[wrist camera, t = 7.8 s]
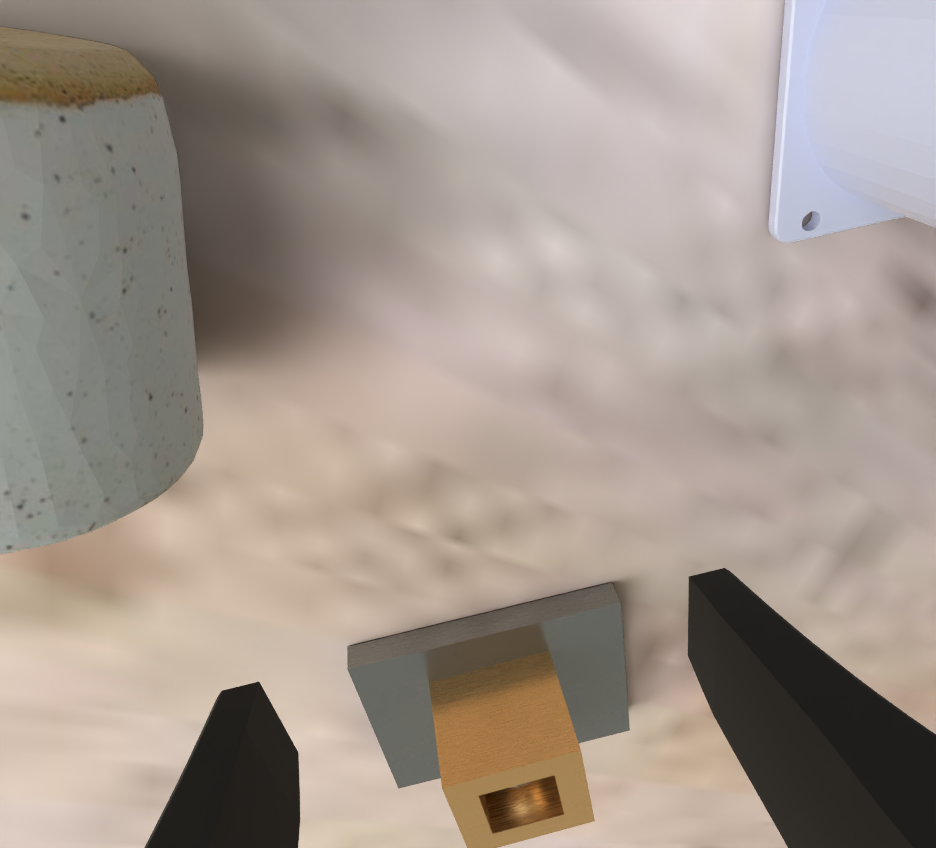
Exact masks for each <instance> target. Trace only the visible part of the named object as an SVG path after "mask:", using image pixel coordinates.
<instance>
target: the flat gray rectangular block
mask: <svg viewBox="0 0 936 848" xmlns="http://www.w3.org/2000/svg"><path fill="white" fill-rule="evenodd" d="M347 649H348V671H349V674H350V676H351V678H352V681H353V683H354V685H355V688H356V690H357V692H358V695H359V697H360V699H361V702H362V704H363V706H364V709H365V711H366V713H367V716H368V718H369V720H370V723H371V725H372V727H373V730H374V732H375V734H376V737H377V739H378V741H379V744H380V746H381V748H382V751H383V753H384V755H385V758H386V760H387V762H388V765H389V767H390V769H391V772H392V774H393V776H394V779H395V781H396V783H397V786H398V788H402V787H406V786H410V785H414V784H418V783H422V782H426V781H430V780H434V779H438V778H441V775H440V767H439V759H438V751H437V743H436V736H435V728H434V720H433V712H432V704H431V696H430V688H429V682H433V681H436V680H440V679H444V678H448V677H451V676H455V675H459V674H463V673H466V672H470V671H474V670H478V669H481V668H485V667H489V666H493V665H496V664H500V663H504V662H508V661H511V660H515V659H519V658H523V657H526V656H530V655H534V654H538V653H541V652H545V651H550V655H551V658H552V661H553V664H554V667H555V670H556V674H557V677H558V680H559V683H560V686H561V689H562V693H563V696H564V699H565V702H566V705H567V708H568V712H569V715H570V718H571V721H572V724H573V727H574V731H575V734H576V737H577V740H578V743H581V742H585V741H589V740H593V739H597V738H601V737H605V736H609V735H613V734H617V733H621V732H625V731H629V730H630V728H629V713H628V699H627V684H626V670H625V655H624V641H623V626H622V612H621V602H620V600H619V597H618V595H617V593H616V591H615V589H614V586H613V584H612V582H611V583H607V584H603V585H599V586H595V587H591V588H587V589H583V590H578V591H574V592H570V593H566V594H562V595H558V596H554V597H550V598H546V599H542V600H537V601H533V602H529V603H525V604H521V605H517V606H513V607H509V608H505V609H500V610H496V611H492V612H488V613H484V614H480V615H476V616H472V617H468V618H463V619H459V620H455V621H451V622H447V623H443V624H439V625H435V626H431V627H426V628H422V629H418V630H414V631H410V632H406V633H402V634H398V635H394V636H389V637H385V638H381V639H377V640H373V641H369V642H365V643H361V644H357V645H352V646H348V647H347ZM531 782H532V781H531ZM531 782H528V783H524V784H520V785H517V786H513V787H509V788H519V787H523V786H526V785H528V784H530V783H531Z"/></svg>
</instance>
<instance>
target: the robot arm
mask: <svg viewBox="0 0 936 848" xmlns="http://www.w3.org/2000/svg"><path fill="white" fill-rule="evenodd" d="M810 212H812V217H811V220H810V221H809V222H808V224H807V225H805V226H803V227H802V221H803V218H804V217H805V216H806V215H807V214H808V213H810ZM903 217H909V218H912V219H914V220H917V221H919V222H922V223H924V224H927V225H929V226H932V227H934V228H936V0H785V9H784V22H783V36H782V49H781V63H780V76H779V90H778V104H777V117H776V131H775V144H774V158H773V171H772V185H771V198H770V212H769V233H770V234H771V235H772V237H773V238H775V239H777V240H779V241H781V242H783V243H792V242H797V241H801V240H806V239H810V238H814V237H819V236H823V235H828V234H832V233H837V232H841V231H845V230H850V229H854V228H859V227H863V226H867V225H872V224H876V223H881V222H885V221H890V220H894V219H898V218H903ZM688 657H689V659H690V662H691V664H692V666H693V669H694V671H695V673H696V676H697V678H698V681H699V683H700V685H701V688H702V690H703V692H704V695H705V697H706V699H707V701H708V704H709V706H710V708H711V710H712V713H713V715H714V717H715V719H716V720H717V722H718V724H719V726H720V728H721V729H722V731H723V733H724V735H725V737H726V738H727V740H728V742H729V744H730V746H731V747H732V749H733V751H734V753H735V754H736V756H737V758H738V760H739V762H740V763H741V765H742V767H743V769H744V770H745V772H746V774H747V776H748V777H749V779H750V781H751V783H752V785H753V786H754V788H755V790H756V792H757V793H758V795H759V797H760V799H761V800H762V802H763V804H764V806H765V807H766V809H767V811H768V813H769V815H770V816H771V818H772V820H773V822H774V823H775V825H776V827H777V829H778V830H779V832H780V834H781V836H782V837H783V839H784V841H785V843H786V845H787V846H788V848H936V734H934V733H933V732H931V731H930V730H928V729H927V728H925V727H924V726H923V725H921V724H920V723H918V722H917V721H915V720H914V719H913V718H911V717H910V716H908V715H907V714H906V713H904V712H903V711H901V710H900V709H899V708H897V707H896V706H894V705H893V704H892V703H890V702H889V701H888V700H886V699H885V698H883V697H882V696H881V695H879V694H878V693H877V692H875V691H874V690H873V689H871V688H870V687H869V686H867V685H866V684H865V683H863V682H862V681H861V680H859V679H858V678H857V677H855V676H854V675H853V674H851V673H850V672H849V671H848V670H846V669H845V668H844V667H843V666H841V665H840V664H839V663H838V662H836V661H835V660H834V659H833V658H831V657H830V656H829V655H827V654H826V653H825V652H824V651H822V650H821V649H820V648H819V647H817V646H816V645H815V644H814V643H812V642H811V641H810V640H809V639H808V638H806V637H805V636H804V635H803V634H801V633H800V632H799V631H798V630H797V629H795V628H794V627H793V626H792V625H791V624H790V623H788V622H787V621H786V620H785V619H784V618H783V617H781V616H780V615H779V614H778V613H777V612H775V611H774V610H773V609H772V608H771V607H770V606H769V605H767V604H766V603H765V602H764V601H763V600H762V599H761V598H759V597H758V596H757V595H756V594H755V593H754V592H753V591H751V590H750V589H749V588H748V587H747V586H746V585H745V584H744V583H743V582H741V581H740V580H739V579H738V578H737V577H736V576H735V575H734V574H733V573H731V572H730V571H729V570H727V569H725V568H723V569H719V570H715V571H710V572H706V573H702V574H698V575H694V576H690V577H689V616H688ZM299 827H300V788H299V761H298V751H297V749H296V748H295V746H294V744H293V742H292V740H291V739H290V737H289V735H288V733H287V731H286V730H285V728H284V726H283V724H282V722H281V720H280V719H279V717H278V715H277V713H276V711H275V710H274V708H273V706H272V704H271V702H270V701H269V699H268V697H267V695H266V693H265V692H264V690H263V688H262V686H261V684H260V682H256V683H252V684H248V685H244V686H240V687H235V688H231V689H227V690H223V691H221V693H220V694H219V696H218V697H217V699H216V702H215V704H214V706H213V708H212V710H211V712H210V715H209V717H208V719H207V721H206V723H205V726H204V728H203V730H202V732H201V734H200V736H199V739H198V741H197V743H196V745H195V747H194V749H193V751H192V753H191V756H190V758H189V760H188V762H187V764H186V766H185V768H184V770H183V772H182V774H181V776H180V779H179V781H178V783H177V785H176V787H175V789H174V791H173V793H172V795H171V797H170V799H169V801H168V803H167V805H166V807H165V809H164V811H163V813H162V815H161V816H160V818H159V820H158V822H157V824H156V826H155V828H154V830H153V832H152V834H151V836H150V838H149V840H148V842H147V844H146V846H145V848H298V840H299Z"/></svg>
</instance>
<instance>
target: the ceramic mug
mask: <svg viewBox="0 0 936 848" xmlns="http://www.w3.org/2000/svg"><path fill="white" fill-rule="evenodd" d="M202 436H203V411H202V402H201V394H200V386H199V378H198V367H197V356H196V345H195V334H194V323H193V312H192V301H191V293H190V285H189V277H188V269H187V261H186V248H185V236H184V224H183V211H182V197H181V183H180V174H179V166H178V159H177V152H176V148H175V144H174V140H173V136H172V132H171V128H170V124H169V120H168V116H167V112H166V108H165V104H164V101H163V98H162V96H161V93H160V91H159V89H158V86H157V84H156V81H155V79H154V77H153V76H152V75H151V74H150V73H149V72H148V71H147V70H146V68H145V67H144V66H143V65H142V64H141V63H140V62H139V61H138V60H137V59H136V58H135V57H134V56H132V55H131V54H130V53H129V52H128V51H126V50H124V49H121V48H118V47H116V46H112V45H109V44H105V43H100V42H95V41H90V40H84V39H78V38H73V37H67V36H61V35H54V34H48V33H42V32H36V31H29V30H22V29H14V28H6V27H0V555H1V554H6V553H11V552H16V551H21V550H26V549H31V548H36V547H41V546H46V545H50V544H54V543H58V542H62V541H65V540H68V539H71V538H74V537H76V536H79V535H82V534H86V533H89V532H92V531H94V530H96V529H99V528H101V527H103V526H105V525H107V524H109V523H111V522H114V521H116V520H118V519H120V518H122V517H124V516H126V515H128V514H130V513H131V512H133V511H135V510H137V509H139V508H141V507H142V506H144V505H146V504H148V503H149V502H151V501H153V500H154V499H156V498H157V497H158V496H160V495H161V494H162V493H164V492H165V491H166V490H167V489H169V488H170V487H171V486H172V485H173V484H174V483H175V482H176V481H178V480H179V478H180V477H181V476H182V475H183V474H184V472H185V471H186V470H187V468H188V467H189V466H190V465H191V463H192V462H193V461H194V458H195V455H196V453H197V450H198V448H199V445H200V442H201V439H202Z"/></svg>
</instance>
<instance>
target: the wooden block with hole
mask: <svg viewBox="0 0 936 848" xmlns="http://www.w3.org/2000/svg"><path fill="white" fill-rule="evenodd" d="M429 688H430V696H431V704H432V712H433V720H434V728H435V736H436V743H437V751H438V759H439V767H440V775H441V783H442V789H443V791H444V794H445V796H446V798H447V801H448V803H449V805H450V808H451V810H452V813H453V815H454V817H455V820H456V822H457V824H458V827H459V829H460V831H461V834H462V836H463V839H464V841H465V843H466V846H467V848H497V847H501V846H505V845H508V844H512V843H516V842H519V841H523V840H527V839H530V838H534V837H538V836H541V835H545V834H549V833H552V832H556V831H560V830H563V829H567V828H571V827H574V826H578V825H582V824H585V823H589V822H593V821H595V820H594V815H593V810H592V805H591V800H590V795H589V790H588V785H587V780H586V775H585V769H584V764H583V759H582V754H581V750H580V746H579V743H578V740H577V737H576V734H575V731H574V727H573V724H572V721H571V718H570V715H569V712H568V708H567V705H566V702H565V699H564V696H563V693H562V689H561V686H560V683H559V680H558V677H557V674H556V670H555V667H554V664H553V661H552V658H551V655H550V651H545V652H541V653H538V654H534V655H530V656H526V657H523V658H519V659H515V660H511V661H508V662H504V663H500V664H496V665H493V666H489V667H485V668H481V669H478V670H474V671H470V672H466V673H463V674H459V675H455V676H451V677H448V678H444V679H440V680H436V681H433V682H429ZM531 781H532V782H531ZM528 782H531V783H530V784H528V785H526V786H523V787H519V788H509V787H513V786H517V785H520V784H524V783H528Z"/></svg>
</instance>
